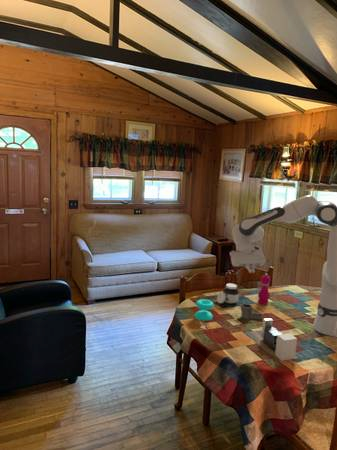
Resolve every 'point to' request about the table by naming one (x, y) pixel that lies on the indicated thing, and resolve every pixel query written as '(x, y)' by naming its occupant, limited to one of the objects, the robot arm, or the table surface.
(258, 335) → the base board
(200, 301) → the donuts
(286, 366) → the table surface
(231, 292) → the spread jar
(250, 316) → the pipe
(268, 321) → the tube
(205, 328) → the cell phone
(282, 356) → the socket
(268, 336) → the sleeve
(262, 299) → the pepper mill
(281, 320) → the table surface
